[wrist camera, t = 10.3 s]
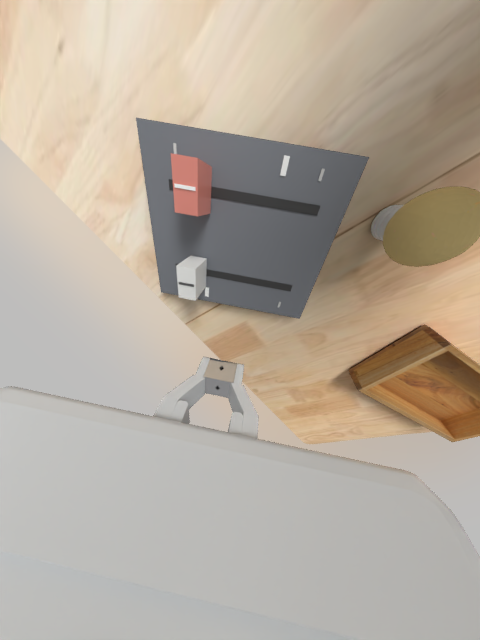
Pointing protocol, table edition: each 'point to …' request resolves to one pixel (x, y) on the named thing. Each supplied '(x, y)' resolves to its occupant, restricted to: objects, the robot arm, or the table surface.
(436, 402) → the tray
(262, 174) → the console
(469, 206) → the light bulb
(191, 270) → the grey fader
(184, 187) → the red fader
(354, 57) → the table surface
